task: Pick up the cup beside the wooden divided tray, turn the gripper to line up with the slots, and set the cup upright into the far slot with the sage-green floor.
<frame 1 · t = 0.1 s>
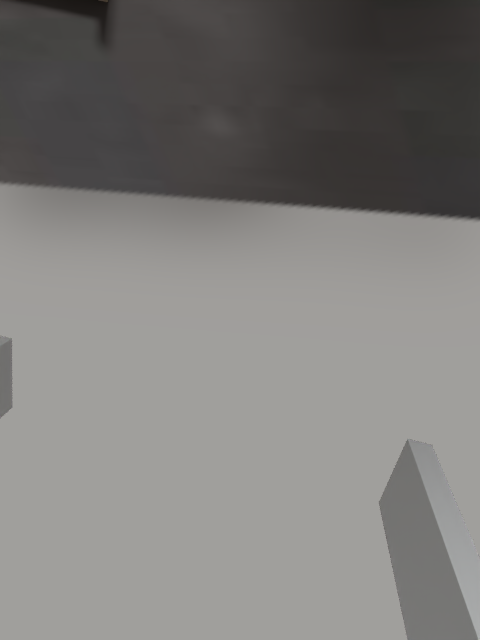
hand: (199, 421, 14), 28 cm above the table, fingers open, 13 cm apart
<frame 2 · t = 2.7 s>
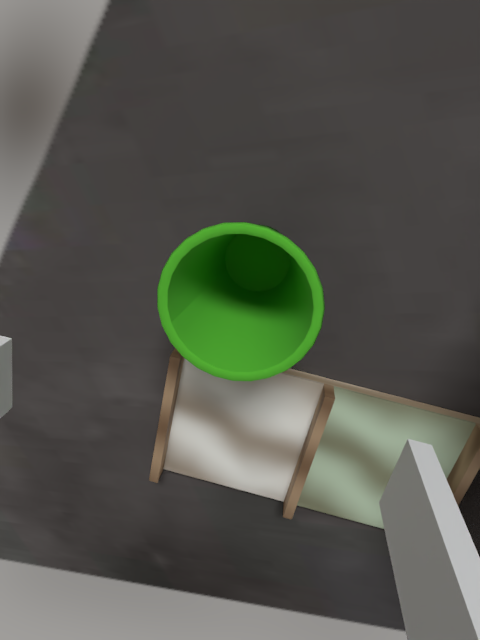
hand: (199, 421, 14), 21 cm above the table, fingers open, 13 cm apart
wooden divided tray: (306, 439, 39), on the table
cup: (258, 257, 33), on the table
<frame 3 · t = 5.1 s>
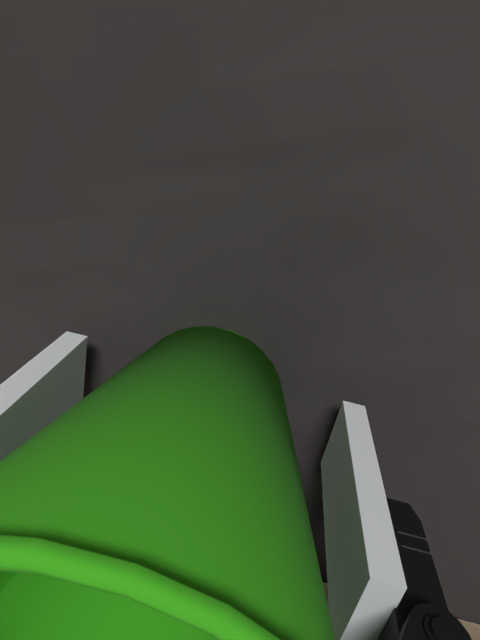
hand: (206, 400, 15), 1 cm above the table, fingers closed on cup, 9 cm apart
cup: (213, 383, 16), on the table, touching gripper
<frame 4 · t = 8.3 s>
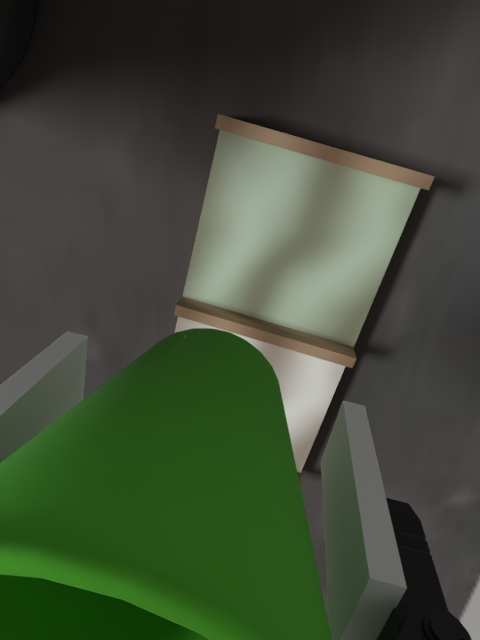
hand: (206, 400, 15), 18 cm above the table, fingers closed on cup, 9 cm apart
wooden divided tray: (267, 320, 33), on the table
cup: (212, 384, 17), point 16 cm above the table, touching gripper
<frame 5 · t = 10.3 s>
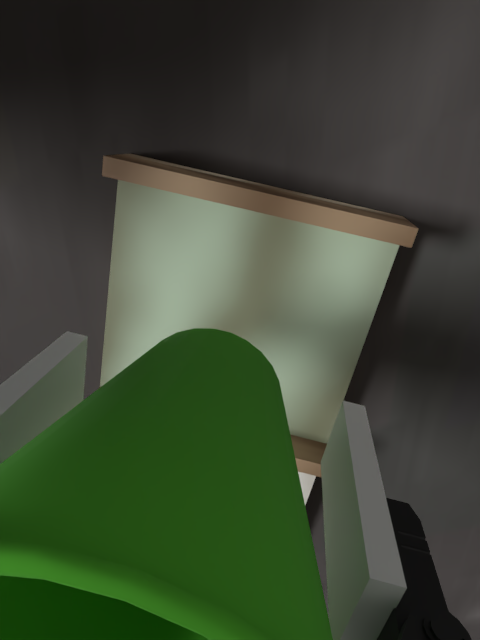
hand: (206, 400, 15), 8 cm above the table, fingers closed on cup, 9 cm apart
wooden divided tray: (215, 408, 25), on the table
cup: (212, 384, 16), point 7 cm above the table, touching gripper
when the fingers open (4 cm above the table, at t = 11.7 s): cup drops 1 cm, resting on wooden divided tray.
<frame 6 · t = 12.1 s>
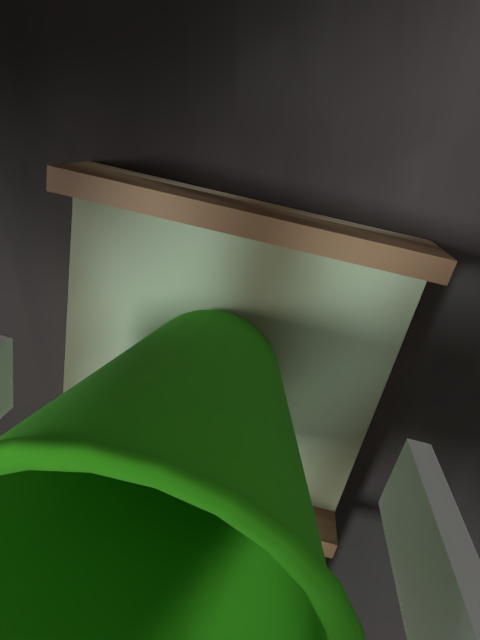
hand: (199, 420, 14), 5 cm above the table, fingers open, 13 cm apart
wooden divided tray: (200, 464, 21), on the table
cup: (215, 364, 18), point 1 cm above the table, touching wooden divided tray
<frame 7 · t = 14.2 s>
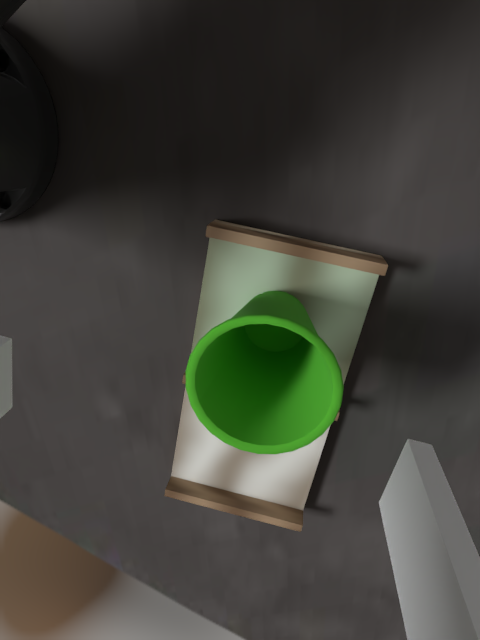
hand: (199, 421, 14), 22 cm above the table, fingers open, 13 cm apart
wooden divided tray: (263, 379, 38), on the table
cup: (275, 319, 35), point 1 cm above the table, touching wooden divided tray
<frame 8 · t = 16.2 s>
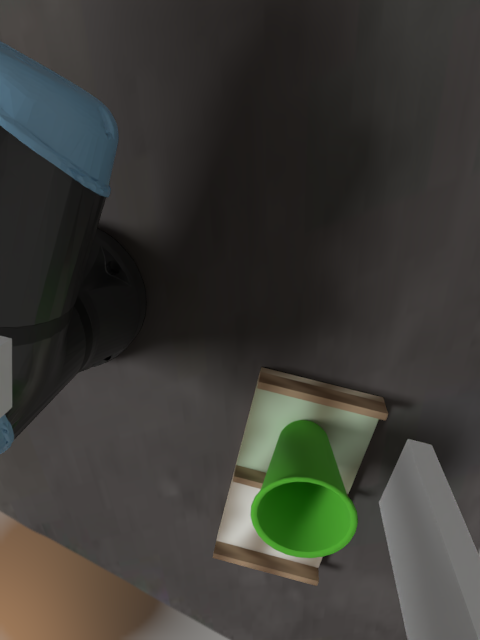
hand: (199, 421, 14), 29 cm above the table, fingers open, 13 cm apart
wooden divided tray: (291, 474, 50), on the table
cup: (303, 437, 47), point 1 cm above the table, touching wooden divided tray
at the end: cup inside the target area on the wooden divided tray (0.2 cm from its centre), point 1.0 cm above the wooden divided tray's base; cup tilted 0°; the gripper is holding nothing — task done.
